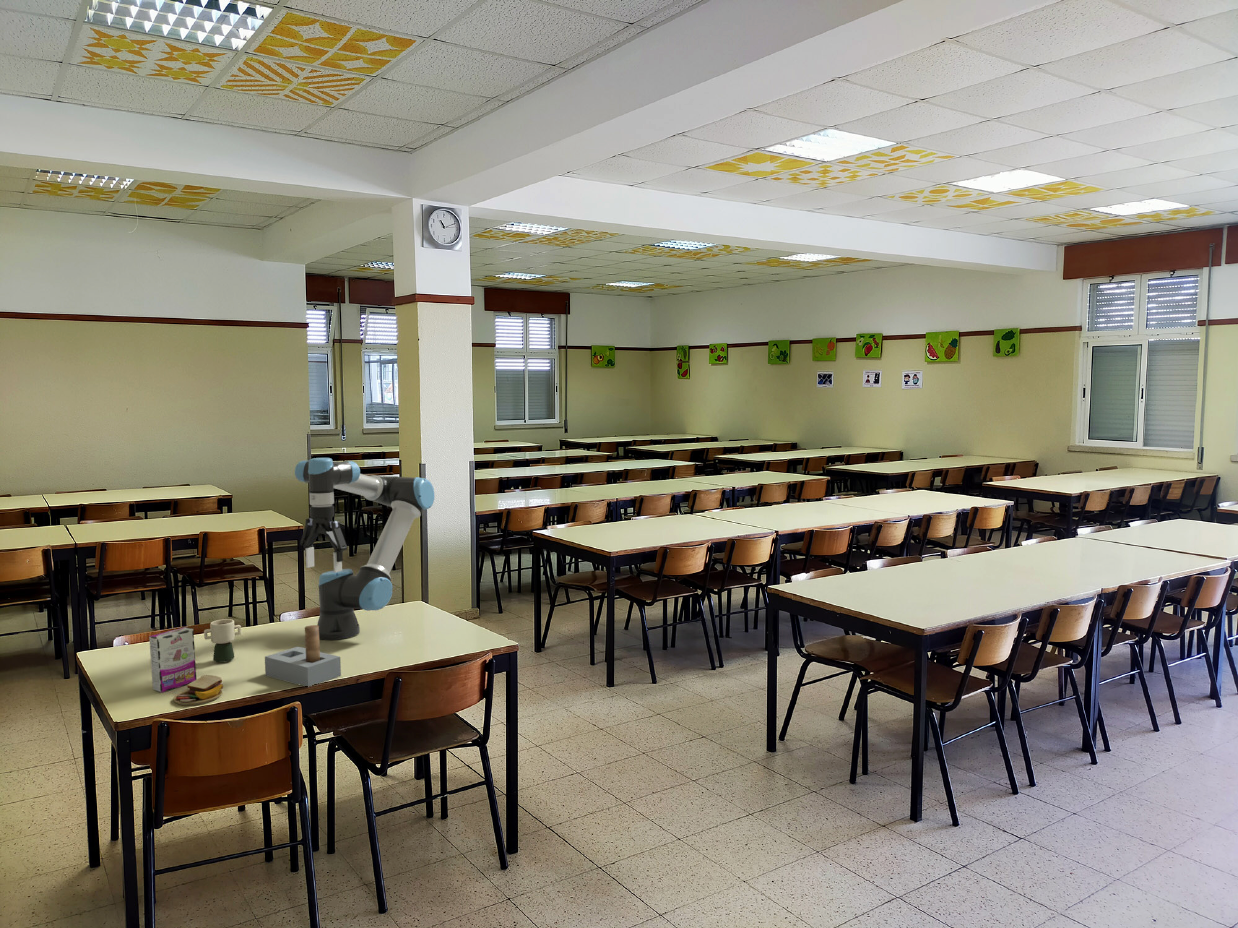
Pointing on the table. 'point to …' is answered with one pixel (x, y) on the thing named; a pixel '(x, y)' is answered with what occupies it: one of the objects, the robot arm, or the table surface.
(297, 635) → the table surface
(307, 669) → the socket block
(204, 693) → the toy sandwich meal
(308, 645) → the walnut dowel
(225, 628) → the cream green trophy cup
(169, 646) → the candy bar box
